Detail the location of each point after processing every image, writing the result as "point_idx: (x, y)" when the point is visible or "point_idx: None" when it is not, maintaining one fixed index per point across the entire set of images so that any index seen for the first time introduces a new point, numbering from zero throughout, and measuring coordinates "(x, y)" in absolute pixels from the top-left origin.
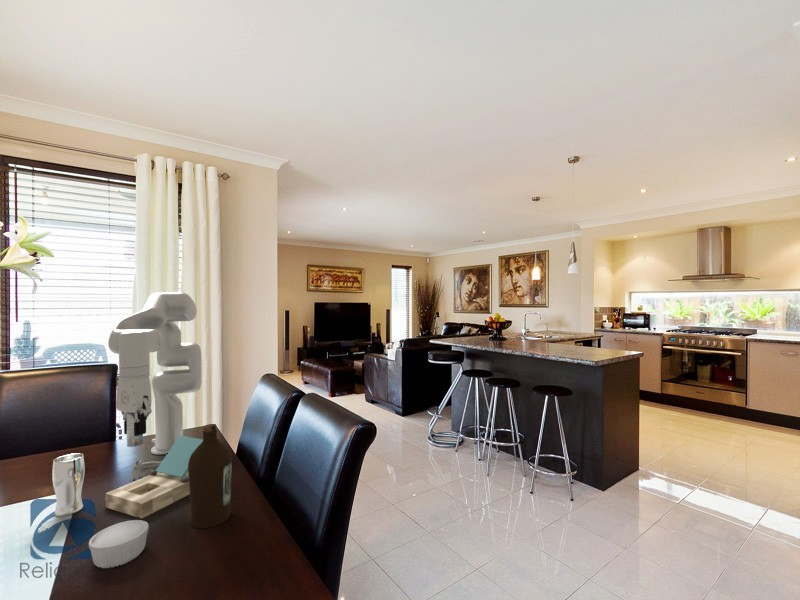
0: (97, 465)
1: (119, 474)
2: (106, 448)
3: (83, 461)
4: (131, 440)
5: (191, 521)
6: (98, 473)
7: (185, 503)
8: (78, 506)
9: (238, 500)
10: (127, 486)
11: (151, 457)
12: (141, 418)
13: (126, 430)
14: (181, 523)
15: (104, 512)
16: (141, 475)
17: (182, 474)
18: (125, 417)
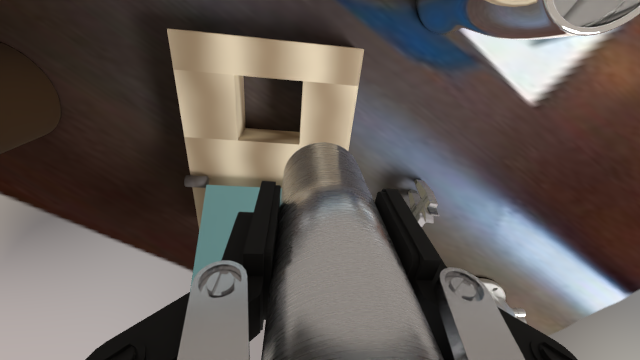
0: (581, 207)
1: (482, 190)
2: (625, 268)
3: (518, 15)
4: (304, 163)
5: (7, 48)
6: (544, 179)
7: (164, 131)
8: (422, 2)
9: (56, 181)
10: (337, 107)
11: (474, 266)
12: (153, 319)
13: (385, 206)
14: (51, 45)
15: (330, 23)
16: (410, 197)
17: (207, 191)
18: (445, 298)
